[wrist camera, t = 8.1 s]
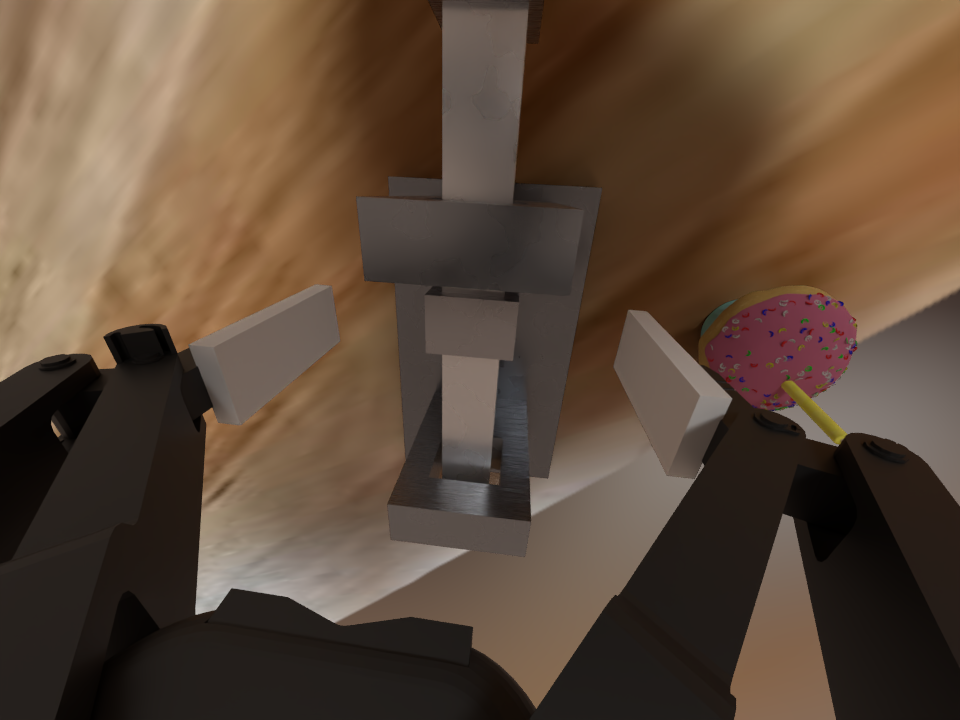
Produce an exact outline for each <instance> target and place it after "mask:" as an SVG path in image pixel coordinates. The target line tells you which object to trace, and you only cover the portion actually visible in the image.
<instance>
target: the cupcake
mask: <svg viewBox="0 0 960 720" xmlns="http://www.w3.org/2000/svg"><path fill="white" fill-rule="evenodd" d="M843 305H844V304H843V302H841V301H836V300H835V299H834V298H833V297H832V296H830V295H829V294H828V293H826V292H824V291H822V290H820V289H818V288H814V287H810V286H804V285H798V286H783V287H778V288H774V289H771V290H766V291H755V292H751V293H749V294H747V295H745V296H743V297H741V298H739V299H737V300H733V301H730V302H727V303H725V304H723V305H721V306H719V307H718V308H716V309H715V310H714V311H713V312H712V313H711V314H710V315H709V316H708V317H707V319H706V320H705V322H704V324H703V326H702V329H701V338H700V340H699V342H698V351H699V365H705V366H706V367H708V368H710V369H712V370H713V371H715V372H717V373H718V374H719V375H721V376H722V377H723V378H724V379H725V380H726V381H727V383H729V384H730V385H731V386H732V387H733V388H734V390H735V391H737V392H738V393H739V394H740V395H741V396H742V397H743V398H744V399H745V400H746V401H747V402H748V403H750V404H751V405H752V406H753V407H754V408H760V409H765V410H769V411H774V410H783V409H785V408H793V407H794V406H795V405H799V406H800V407H801V408H802V409H803V410H804V411H805V412H806V413H807V414H808V415H809V417H810V418H811V419H812V420H813V421H814V422H815V423H816V424H817V425H818V426H819V427H820V428H821V429H822V430H823V431H824V432H825V433H826V434H827V435H828V436H829V437H830V438H831V440H832V441H833V442H834V443H836V444H840V443H841V442H842V440H843V439H844V438H845V436H846V435H848V434H847V433H846V432H844V431H843V430H842V429H841V428H840V427H839V426H838V425H837V424H836V423H835V422H834V421H833V420H832V419H831V418H830V417H829V416H828V415H827V414H826V413H825V412H824V411H823V410H822V409H821V408H820V407H819V406H818V405H817V404H816V403H815V402H814V401H813V400H812V399H811V398H812V397H817V396H818V394H819V393H821V392H824V391H826V389H827V388H829V387H830V386H833V385H835V384H834V383H835V381H837V380H839V379H840V378H841V374H843V373H844V372H845V370H847V365H848V364H849V361H850V359H851V356H852V353H853V352H854V351H855V350H856V349H857V347H855V346H857V342H856V332H857V328H856V327H857V324H856V323H855V321H856V319H855V318H853V317H852V316H851V315H850V314H849V312H848V311H847V310H846V308H845V307H844V306H843ZM854 349H855V350H854Z"/></svg>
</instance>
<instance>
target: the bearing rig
mask: <svg viewBox="0 0 960 720" xmlns="http://www.w3.org/2000/svg"><path fill="white" fill-rule="evenodd" d="M388 183H389V196H361V197H356V200H357V210H358V220H359V230H360V240H361V250H362V260H363V270H364V280H365V281H374V282H388V283H395V296H396V312H397V328H398V344H399V360H400V376H401V393H402V409H403V425H404V441H405V457H406V461H405V464H404V466H403V468H402V471H401V473H400V475H399V478H398V480H397V482H396V485H395V487H394V490H393V492H392V494H391V497H390V499H389V501H388V504H387V507H388V517H389V527H390V536H391V540H397V541H404V542H412V543H420V544H427V545H435V546H443V547H451V548H458V549H466V550H474V551H481V552H489V553H497V554H505V555H512V556H520V557H525V554H526V548H527V543H528V537H529V531H530V525H531V507H530V481H529V476H531V477H540V478H548V476H549V470H550V465H551V460H552V454H553V449H554V444H555V438H556V433H557V427H558V422H559V417H560V411H561V406H562V401H563V395H564V390H565V385H566V379H567V374H568V369H569V363H570V358H571V353H572V347H573V342H574V337H575V331H576V326H577V321H578V315H579V310H580V305H581V299H582V294H583V289H584V283H585V278H586V273H587V267H588V262H589V257H590V251H591V246H592V241H593V235H594V230H595V225H596V219H597V214H598V209H599V203H600V198H601V193H602V188H597V187H578V186H559V185H540V184H522V183H515V186H514V198H513V204H506V203H488V202H471V201H453V200H442V179H428V178H409V177H390V176H388ZM432 286H440V287H454V288H467V289H480V290H493V291H506V292H519V308H518V317H517V327H516V337H515V346H514V356H513V361H507V360H500V364H499V375H498V387H497V399H496V411H495V423H494V435H493V446H492V458H491V468H490V472H495V473H500V475H499V485H491V484H483V483H474V482H466V481H457V480H448V479H440V478H439V476H440V472H441V469H442V355H440V354H429V353H426V340H425V297H424V295H425V294H426V293H427V292H428V291H429V290H430V289H431V287H432Z"/></svg>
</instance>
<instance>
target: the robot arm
mask: <svg viewBox="0 0 960 720" xmlns="http://www.w3.org/2000/svg"><path fill="white" fill-rule="evenodd" d="M104 339H105V341H106V343H107V345H108V347H109V349H110V351H111V353H112V355H113V357H114V359H115V361H116V363H117V365H116V367H115V368H113V369H98V367H97V365H96V363H95V362H94V360H93V358H92V356H91V355H88V354H69V355H65V354H61V355H55V356H51V357H47V358H44V359H43V360H41V361H39V362H36V363H33V364H31V365H29V366H27V367H25V368H23V369H21V370H20V371H18V372H16V373H15V374H13V375H12V376H10V377H8V378H7V379H5V380H3V381H2V382H0V720H734V717H735V712H736V698H735V697H734V696H733V695H732V694H730V686H731V682H732V678H733V674H734V671H735V668H736V664H737V661H738V658H739V655H740V651H741V648H742V645H743V641H744V638H745V635H746V632H747V629H748V625H749V622H750V619H751V615H752V612H753V609H754V606H755V602H756V599H757V596H758V592H759V589H760V586H761V583H762V579H763V576H764V573H765V570H766V566H767V563H768V560H769V556H770V553H771V550H772V546H773V543H774V540H775V537H776V533H777V530H778V527H779V524H780V520H781V517H782V514H785V515H788V516H792V517H793V519H794V523H795V528H796V533H797V538H798V542H799V546H800V552H801V556H802V561H803V566H804V570H805V575H806V579H807V584H808V589H809V594H810V599H811V603H812V608H813V612H814V617H815V622H816V627H817V631H818V636H819V641H820V645H821V650H822V655H823V660H824V664H825V669H826V674H827V678H828V683H829V688H830V693H831V697H832V702H833V707H834V711H835V716H836V720H960V506H959V505H958V503H957V502H956V501H955V500H954V498H953V497H952V496H951V494H950V493H949V492H948V491H947V489H946V488H945V486H944V485H943V484H942V482H941V481H940V480H939V478H938V477H937V476H936V475H935V473H934V472H933V471H932V469H931V468H930V467H929V465H928V464H927V463H926V462H925V461H924V460H923V459H922V458H920V457H919V456H918V455H916V454H914V453H913V452H911V451H909V450H908V449H907V448H906V447H905V446H903V445H901V444H896V442H894V441H891V440H888V439H882V438H879V437H876V436H873V435H868V434H864V433H850V434H848V435H846V436H845V438H844V439H843V440H842V442H841V443H840V445H839V446H838V447H836V446H833V445H828V444H825V443H821V442H818V441H814V440H810V439H806V434H805V431H804V430H803V429H802V428H801V427H800V426H799V425H798V424H797V423H795V422H794V421H792V420H791V419H789V418H787V417H784V416H782V415H780V414H778V413H775V412H772V411H769V410H765V409H760V408H754V407H753V406H752V405H751V404H750V403H748V402H747V401H746V400H745V399H744V398H743V397H742V396H741V395H740V394H739V393H738V392H737V391H735V390H734V388H733V387H732V386H731V385H730V384H729V383H727V381H726V380H725V379H724V378H723V377H722V376H721V375H719V374H718V373H717V372H715V371H713V370H712V369H710V368H708V367H706V366H705V365H699V364H698V363H697V362H696V361H695V360H694V359H693V358H692V357H691V356H690V355H689V354H688V353H687V352H686V351H685V350H684V349H683V348H682V347H681V346H680V345H679V344H678V343H677V342H676V341H675V340H674V339H673V337H672V336H671V335H670V334H669V333H668V332H667V331H666V330H665V329H664V328H663V327H662V326H661V325H660V324H659V323H658V322H657V321H656V320H655V319H654V318H653V317H652V316H651V315H650V314H649V313H648V312H647V311H637V310H628V313H627V316H626V320H625V324H624V328H623V332H622V336H621V339H620V343H619V347H618V351H617V355H616V359H615V362H614V366H613V367H614V369H615V371H616V373H617V375H618V377H619V379H620V381H621V383H622V385H623V388H624V390H625V392H626V394H627V396H628V398H629V400H630V402H631V404H632V406H633V408H634V410H635V412H636V414H637V416H638V418H639V420H640V422H641V424H642V426H643V428H644V430H645V432H646V434H647V436H648V438H649V440H650V442H651V444H652V446H653V448H654V450H655V452H656V454H657V456H658V458H659V461H660V463H661V465H662V467H663V469H664V471H665V473H666V475H667V476H675V477H683V478H692V479H695V477H696V475H697V473H698V471H699V469H700V467H701V464H702V463H703V464H704V468H703V469H702V471H701V472H700V474H699V475H698V477H697V478H696V480H695V481H694V483H693V484H692V486H691V487H690V489H689V490H688V492H687V493H686V495H685V496H684V498H683V500H682V501H681V503H680V504H679V506H678V507H677V509H676V510H675V512H674V513H673V515H672V516H671V518H670V519H669V521H668V522H667V524H666V525H665V527H664V528H663V530H662V531H661V533H660V534H659V536H658V537H657V539H656V540H655V542H654V543H653V545H652V546H651V548H650V550H649V551H648V553H647V554H646V556H645V557H644V559H643V560H642V562H641V563H640V565H639V566H638V568H637V569H636V571H635V572H634V574H633V575H632V577H631V579H630V580H629V581H628V583H627V585H626V586H625V587H624V589H623V590H622V592H621V593H620V594H619V595H618V596H616V595H615V596H614V597H613V598H612V599H611V600H610V602H609V603H608V604H607V606H606V607H605V608H604V610H603V611H602V613H601V614H600V616H599V617H598V619H597V620H596V622H595V623H594V625H593V626H592V628H591V629H590V631H589V632H588V633H587V635H586V636H585V638H584V639H583V641H582V642H581V644H580V645H579V647H578V648H577V650H576V651H575V653H574V654H573V656H572V657H571V659H570V660H569V662H568V663H567V665H566V666H565V668H564V669H563V670H562V672H561V673H560V675H559V677H558V678H557V679H556V681H555V682H554V684H553V685H552V687H551V688H550V690H549V691H548V693H547V695H546V696H545V697H544V699H543V700H542V702H541V703H540V705H539V706H538V708H537V709H536V708H535V706H534V705H533V703H532V702H531V700H530V699H529V697H528V696H527V694H526V693H525V692H524V691H523V689H522V688H521V687H520V686H519V685H518V683H517V682H516V681H515V680H514V679H513V678H512V677H511V676H510V675H509V674H508V673H507V672H506V671H505V670H504V669H503V668H502V667H501V666H500V665H498V664H497V663H496V662H494V661H493V660H491V659H490V658H489V657H487V656H486V655H485V654H483V653H481V652H479V651H477V650H475V649H474V648H471V647H472V633H473V627H470V626H465V625H458V624H452V623H446V622H439V621H433V620H427V619H421V618H414V617H408V618H400V619H393V620H386V621H379V622H372V623H365V624H357V625H350V626H340V625H337V624H335V623H333V622H331V621H329V620H328V619H326V618H324V617H322V616H321V615H319V614H317V613H315V612H313V611H312V610H310V609H308V608H306V607H305V606H303V605H301V604H299V603H297V602H296V601H294V600H292V599H290V598H288V597H283V596H277V595H270V594H264V593H258V592H252V591H245V590H239V589H233V588H232V589H231V590H230V591H229V593H228V594H227V596H226V597H225V598H224V600H223V601H222V602H221V604H220V605H219V607H218V608H217V609H216V610H214V611H210V612H206V613H202V614H198V615H195V605H196V588H197V572H198V555H199V538H200V522H201V505H202V488H203V472H204V455H205V438H206V422H205V420H204V417H203V415H202V414H203V413H205V412H206V411H207V410H209V409H210V408H213V410H214V413H215V415H216V418H217V421H218V423H225V424H234V425H242V424H243V423H244V422H245V421H246V420H248V419H249V418H250V417H251V416H252V415H253V414H255V413H256V412H257V411H258V410H259V409H261V408H262V407H263V406H264V405H265V404H266V403H268V402H269V401H270V400H271V399H272V398H274V397H275V396H276V395H277V394H278V393H279V392H281V391H282V390H283V389H284V388H285V387H287V386H288V385H289V384H290V383H291V382H292V381H294V380H295V379H296V378H297V377H298V376H300V375H301V374H302V373H303V372H304V371H306V370H307V369H308V368H309V367H310V366H311V365H313V364H314V363H315V362H316V361H317V360H319V359H320V358H321V357H322V356H323V355H324V354H326V353H327V352H328V351H329V350H330V349H332V348H333V347H334V346H335V345H336V344H337V343H339V342H340V336H339V330H338V323H337V317H336V310H335V304H334V298H333V291H332V286H328V285H314V286H311V287H309V288H307V289H305V290H303V291H301V292H299V293H297V294H294V295H292V296H290V297H288V298H286V299H284V300H282V301H280V302H278V303H275V304H273V305H271V306H269V307H267V308H265V309H263V310H261V311H259V312H256V313H254V314H252V315H250V316H248V317H246V318H244V319H242V320H240V321H237V322H235V323H233V324H231V325H229V326H227V327H225V328H223V329H221V330H218V331H216V332H214V333H212V334H210V335H208V336H206V337H204V338H202V339H199V340H197V341H195V342H193V343H191V344H189V348H188V349H186V350H183V351H181V352H179V353H177V351H176V349H175V346H174V344H173V341H172V339H171V336H170V334H169V331H168V329H167V327H166V326H165V325H162V324H142V325H135V326H130V327H125V328H122V329H118V330H115V331H113V332H110V333H108V334H106V335H105V336H104ZM51 420H52V422H53V423H54V425H55V426H56V428H57V429H58V431H59V432H60V434H61V435H60V436H59V437H57V436H56V434H55V433H54V431H53V429H52V426H51Z"/></svg>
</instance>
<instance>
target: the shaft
mask: <svg viewBox="0 0 960 720" xmlns="http://www.w3.org/2000/svg"><path fill="white" fill-rule="evenodd" d="M428 1H429V3H430V6H431V8H432V10H433V12H434V14H435V16H436V18H437V21H438V23H439V25H440V27H441V29H442V200H453V201H471V202H488V203H506V204H513V198H514V186H515V174H516V163H517V151H518V139H519V127H520V115H521V103H522V92H523V80H524V68H525V56H526V44H527V43H531V44H538V42H539V34H540V27H541V19H542V11H543V4H544V0H428ZM424 297H425V340H426V353H429V354H440V355H442V479H448V480H457V481H466V482H474V483H483V484H489V477H490V468H491V458H492V446H493V435H494V423H495V411H496V399H497V387H498V375H499V364H500V360H507V361H513V356H514V346H515V337H516V327H517V317H518V308H519V292H506V291H493V290H480V289H467V288H454V287H440V286H432V287H431V289H430V290H429V291H428V292H427V293H426V294H425V295H424Z"/></svg>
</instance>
